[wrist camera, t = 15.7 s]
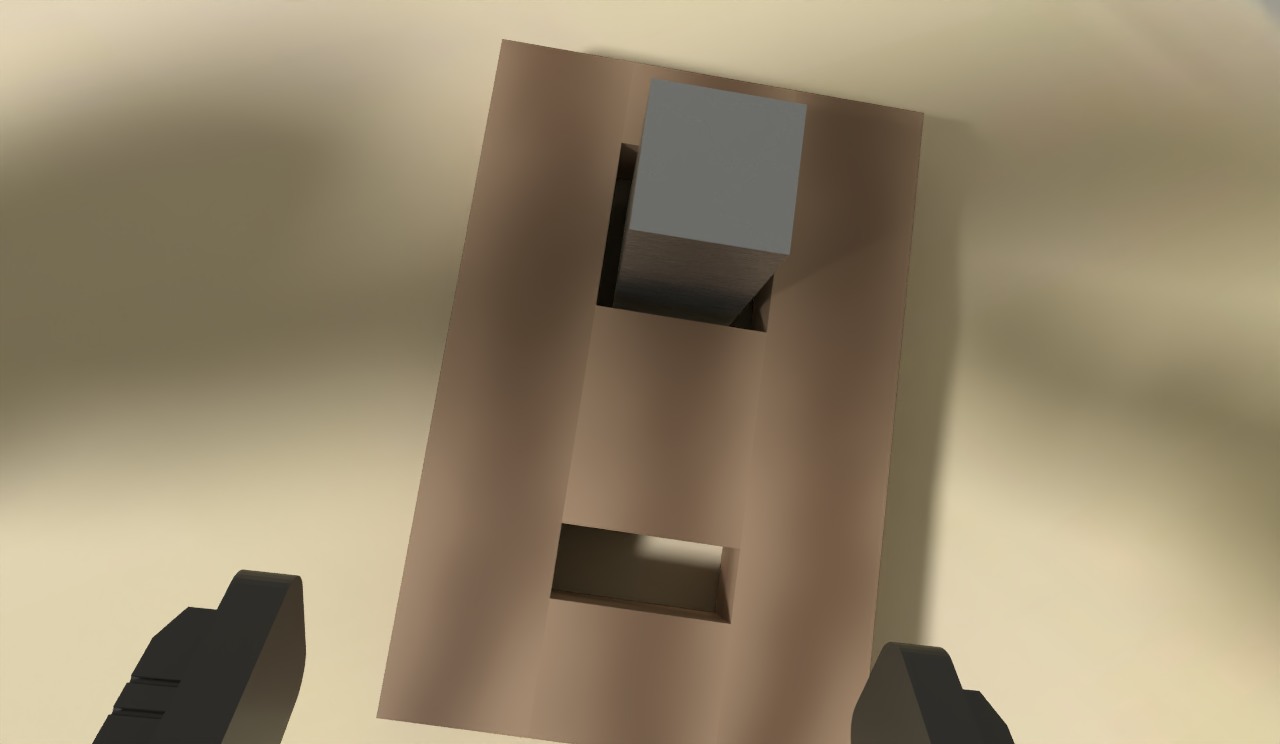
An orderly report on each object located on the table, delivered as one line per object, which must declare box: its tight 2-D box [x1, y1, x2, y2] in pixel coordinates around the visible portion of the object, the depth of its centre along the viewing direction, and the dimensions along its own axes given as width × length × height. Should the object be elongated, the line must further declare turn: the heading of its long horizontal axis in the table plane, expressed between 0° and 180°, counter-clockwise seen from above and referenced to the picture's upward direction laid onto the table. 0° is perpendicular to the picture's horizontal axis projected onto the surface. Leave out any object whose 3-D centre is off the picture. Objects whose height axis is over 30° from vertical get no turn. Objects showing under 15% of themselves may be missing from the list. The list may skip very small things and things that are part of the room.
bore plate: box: [376, 39, 924, 744], centre depth 28 cm, size 14×21×3 cm, turn 172°
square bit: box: [613, 78, 807, 326], centre depth 26 cm, size 4×4×9 cm
